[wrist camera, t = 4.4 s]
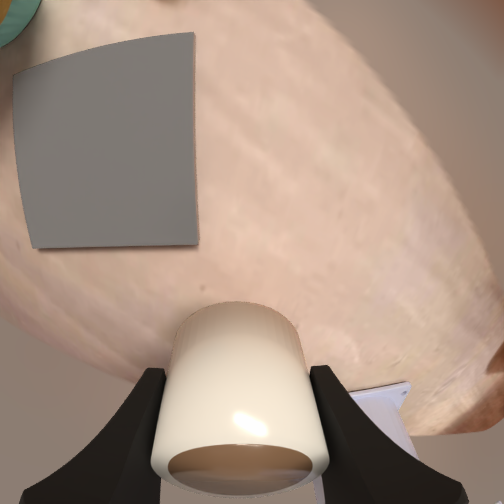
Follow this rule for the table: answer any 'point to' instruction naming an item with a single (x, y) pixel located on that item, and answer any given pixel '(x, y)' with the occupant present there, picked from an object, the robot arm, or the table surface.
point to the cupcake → (15, 17)
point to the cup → (238, 406)
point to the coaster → (109, 145)
